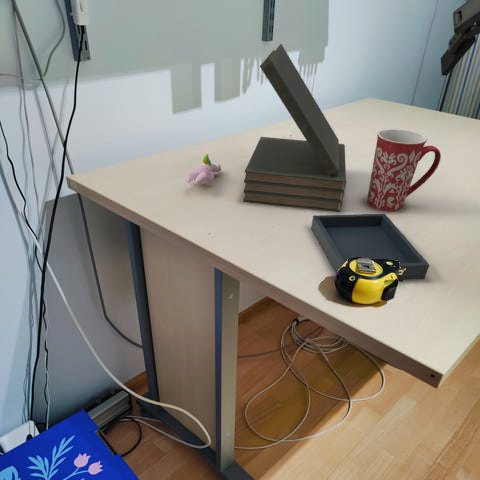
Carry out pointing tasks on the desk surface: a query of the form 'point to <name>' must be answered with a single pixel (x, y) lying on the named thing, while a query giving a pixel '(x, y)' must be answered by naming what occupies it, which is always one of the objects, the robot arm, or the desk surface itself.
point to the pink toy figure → (204, 172)
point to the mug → (397, 167)
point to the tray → (367, 242)
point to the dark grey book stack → (296, 150)
